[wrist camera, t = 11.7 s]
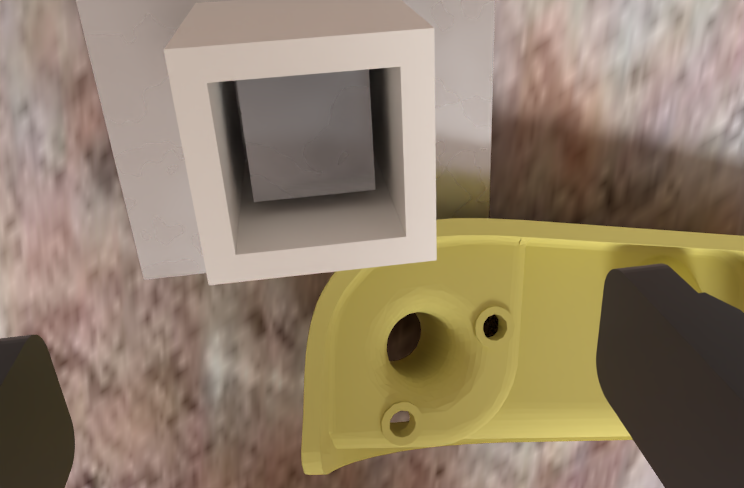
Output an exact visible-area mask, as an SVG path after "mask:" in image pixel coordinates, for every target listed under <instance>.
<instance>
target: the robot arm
mask: <svg viewBox="0 0 744 488" xmlns="http://www.w3.org/2000/svg"><path fill="white" fill-rule="evenodd" d="M596 369H597V375H598V380H599V383H600V387H601V389H602V392H603V394H604V396H605V398H606V399H607V401H608V403H609V404H610V406H611V407H612V409H613V410H614V412H615V413H616V415H617V416H618V418H619V419H620V421H621V422H622V424H623V425H624V427H625V428H626V430H627V431H628V433H629V434H630V436H631V437H632V439H633V440H634V442H635V443H636V445H637V446H638V448H639V449H640V451H641V452H642V454H643V455H644V457H645V458H646V460H647V461H648V463H649V464H650V466H651V467H652V469H653V470H654V472H655V473H656V475H657V476H658V478H659V479H660V481H661V482H662V484H663V485H664V487H665V488H744V313H743V312H742V311H741V310H740V309H738V308H736V307H734V306H732V305H730V304H728V303H726V302H723V301H721V300H719V299H717V298H715V297H713V296H711V295H709V294H707V293H705V292H703V293H698V292H697V291H696V290H694V289H693V288H692V287H691V286H690V285H689V284H688V283H687V282H686V281H685V280H684V279H683V278H681V277H680V276H679V275H678V274H677V273H676V272H675V271H674V270H673V269H672V268H671V267H669V266H668V265H666V264H662V263H660V264H651V265H643V266H634V267H626V268H617V269H612V270H610V271H609V273H608V274H607V276H606V279H605V282H604V289H603V298H602V307H601V316H600V325H599V334H598V342H597V351H596ZM74 450H75V439H74V429H73V424H72V420H71V417H70V414H69V411H68V408H67V405H66V402H65V399H64V396H63V393H62V390H61V387H60V384H59V381H58V378H57V375H56V372H55V369H54V366H53V363H52V360H51V357H50V354H49V351H48V349H47V346H46V344H45V342H44V341H43V339H42V338H41V337H40V336H38V335H27V336H18V337H10V338H1V339H0V488H65V485H66V482H67V479H68V477H69V474H70V471H71V468H72V464H73V459H74Z"/></svg>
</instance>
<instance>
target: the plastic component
mask: <svg viewBox="0 0 744 488" xmlns="http://www.w3.org/2000/svg"><path fill="white" fill-rule="evenodd" d="M436 239H437V260H435V261H426V262H417V263H408V264H399V265H390V266H380V267H371V268H362V269H353V270H344V271H335V272H334V274H333V275H332V276H331V278H330V279H329V281H328V282H327V284H326V286H325V287H324V289H323V290H322V292H321V295H320V297H319V299H318V301H317V303H316V306H315V309H314V312H313V316H312V320H311V324H310V329H309V334H308V340H307V348H306V358H305V375H304V404H303V427H302V446H301V459H302V467H303V470H304V474H307V475H325V474H329V473H331V472H332V471H334V470H336V469H338V468H340V467H343V466H345V465H348V464H351V463H354V462H357V461H360V460H364V459H368V458H371V457H375V456H380V455H385V454H390V453H395V452H400V451H407V450H414V449H421V448H428V447H438V446H449V445H461V444H478V443H498V442H548V441H598V440H633V439H632V437H631V436H630V434H629V433H628V431H627V430H626V428H625V427H624V425H623V424H622V422H621V421H620V419H619V418H618V416H617V415H616V413H615V412H614V410H613V409H612V407H611V406H610V404H609V403H608V401H607V399H606V398H605V396H604V394H603V392H602V389H601V387H600V383H599V380H598V375H597V369H596V351H597V342H598V334H599V325H600V316H601V307H602V298H603V289H604V282H605V279H606V276H607V274H608V273H609V271H610V270H612V269H617V268H626V267H634V266H643V265H651V264H660V263H662V264H666V265H668V266H669V267H671V268H672V269H673V270H674V271H675V272H676V273H677V274H678V275H679V276H680V277H681V278H683V279H684V280H685V281H686V282H687V283H688V284H689V285H690V286H691V287H692V288H693V289H694V290H696V291H697V292H698V293H703V292H705V293H707V294H709V295H711V296H713V297H715V298H717V299H719V300H721V301H723V302H726V303H728V304H730V305H732V306H734V307H736V308H738V309H740V310H741V311H742V312H743V313H744V236H739V235H725V234H711V233H697V232H683V231H669V230H655V229H641V228H627V227H613V226H599V225H586V224H572V223H558V222H544V221H530V220H512V219H490V218H449V219H437V220H436ZM411 313H416V315H417V317H418V319H419V321H420V325H421V336H420V340H419V342H418V344H417V347H416V348H415V349H414V351H413V352H412V353H411V354H410V355H408V356H407V357H405V358H403V359H401V360H396V361H389V359H388V356H387V341H388V337H389V334H390V332H391V330H392V328H393V327H394V325H395V324H396V323H397V322H398V321H399V320H400V319H401V318H403V317H405V316H406V315H408V314H411ZM494 314H495V315H496V317H497V318H498V331H497V332H496V334H495V335H494V336H492V337H488V338H487V337H486V336H485V334H484V332H483V323H484V322H485V320H486V319H487V318H488V317H489V316H491V315H494ZM399 411H408V413H409V415H410V420H409V421H406V422H397V423H390V420H391V418H392V416H393V415H394V414H395V413H397V412H399Z"/></svg>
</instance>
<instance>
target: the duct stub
mask: <svg viewBox="0 0 744 488" xmlns="http://www.w3.org/2000/svg"><path fill="white" fill-rule="evenodd" d="M216 1H230V0H76V4H77V8H78V13H79V17H80V21H81V25H82V29H83V33H84V37H85V41H86V45H87V49H88V53H89V58H90V62H91V66H92V70H93V74H94V78H95V82H96V86H97V90H98V94H99V98H100V103H101V107H102V111H103V115H104V119H105V123H106V127H107V131H108V135H109V139H110V143H111V148H112V152H113V156H114V160H115V164H116V168H117V172H118V176H119V180H120V184H121V189H122V193H123V197H124V201H125V205H126V209H127V213H128V217H129V221H130V225H131V229H132V234H133V238H134V242H135V246H136V250H137V254H138V258H139V262H140V266H141V270H142V274H143V279H144V280H147V279H156V278H165V277H174V276H184V275H193V274H202V273H206V268H205V263H204V258H203V253H202V248H201V242H200V237H199V232H198V227H197V221H196V216H195V211H194V206H193V201H192V195H191V190H190V185H189V180H188V175H187V169H186V164H185V159H184V154H183V149H182V143H181V138H180V133H179V128H178V122H177V117H176V112H175V107H174V102H173V96H172V91H171V86H170V81H169V76H168V70H167V65H166V60H165V55H164V48H165V47H166V45H167V44H168V42H169V41H170V39H171V38H172V36H173V35H174V34H175V32H176V31H177V29H178V28H179V26H180V25H181V23H182V22H183V21H184V19H185V18H186V16H187V15H188V13H189V12H190V10H191V9H192V8H193V6H194V5H195V3H203V2H216ZM402 1H403V2H404V3H406V4H407V5H408V6H409V7H410V8H411V9H413V10H414V11H415V12H416V13H417V14H418V15H420V16H421V17H422V18H423V19H424V20H426V21H427V22H428V23H429V24H430V25H431V26H433V27H434V42H435V141H436V220H437V219H449V218H489V204H490V168H491V132H492V96H493V61H494V25H495V0H402ZM234 86H235V93H236V100H237V106H238V113H239V120H240V127H241V134H242V140H243V147H244V154H245V159H248V165H249V171H250V178H251V185H252V192H253V198H254V202H260V201H270V200H280V199H290V198H300V197H309V196H319V195H329V194H339V193H349V192H359V191H369V190H376V188H375V170H374V152H373V135H372V117H371V99H370V82H369V69H366V70H354V71H342V72H330V73H318V74H306V75H294V76H283V77H271V78H259V79H247V80H235V81H234Z"/></svg>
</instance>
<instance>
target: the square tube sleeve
mask: <svg viewBox="0 0 744 488" xmlns="http://www.w3.org/2000/svg"><path fill="white" fill-rule="evenodd" d="M164 55H165V60H166V65H167V70H168V76H169V81H170V86H171V91H172V96H173V102H174V107H175V112H176V117H177V122H178V128H179V133H180V138H181V143H182V149H183V154H184V159H185V164H186V169H187V175H188V180H189V185H190V190H191V195H192V201H193V206H194V211H195V216H196V221H197V227H198V232H199V237H200V242H201V248H202V253H203V258H204V263H205V268H206V274H207V279H208V284H209V285H217V284H226V283H235V282H244V281H253V280H262V279H271V278H281V277H290V276H299V275H308V274H317V273H326V272H335V271H344V270H353V269H362V268H371V267H380V266H390V265H399V264H408V263H417V262H426V261H435V260H437V239H436V141H435V42H434V27H433V26H431V25H430V24H429V23H428V22H427V21H426V20H424V19H423V18H422V17H421V16H420V15H418V14H417V13H416V12H415V11H414V10H413V9H411V8H410V7H409V6H408V5H407V4H406V3H404V2H403V1H402V0H230V1H216V2H203V3H195V5H194V6H193V8H192V9H191V10H190V12H189V13H188V15H187V16H186V18H185V19H184V21H183V22H182V23H181V25H180V26H179V28H178V29H177V31H176V32H175V34H174V35H173V36H172V38H171V39H170V41H169V42H168V44H167V45H166V47H165V48H164ZM366 69H369V82H370V99H371V117H372V135H373V152H374V170H375V188H376V190H369V191H359V192H349V193H339V194H329V195H319V196H309V197H300V198H290V199H280V200H270V201H260V202H254V198H253V192H252V185H251V178H250V171H249V165H248V159H245V154H244V147H243V140H242V134H241V127H240V120H239V113H238V106H237V100H236V93H235V86H234V81H235V80H247V79H259V78H271V77H283V76H294V75H306V74H318V73H330V72H342V71H354V70H366Z"/></svg>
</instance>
